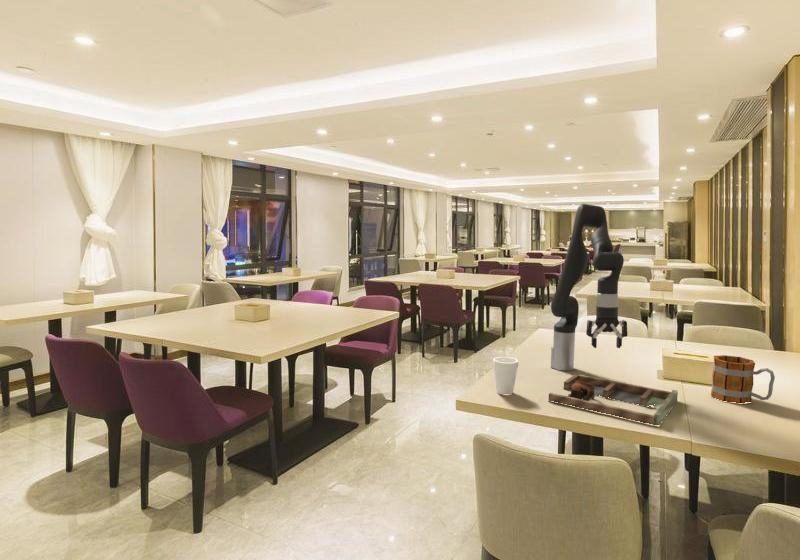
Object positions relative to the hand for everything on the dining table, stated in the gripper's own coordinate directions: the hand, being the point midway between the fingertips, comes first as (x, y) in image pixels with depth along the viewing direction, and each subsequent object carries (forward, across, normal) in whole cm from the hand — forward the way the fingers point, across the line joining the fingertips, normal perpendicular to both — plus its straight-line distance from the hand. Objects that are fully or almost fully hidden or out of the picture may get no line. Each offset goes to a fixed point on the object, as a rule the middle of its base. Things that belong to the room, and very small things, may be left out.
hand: (606, 347), depth 184 cm
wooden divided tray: (+19, -1, +5) cm, 20 cm away
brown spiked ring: (+19, +10, +6) cm, 22 cm away
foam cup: (+18, +38, +1) cm, 42 cm away
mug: (+20, -49, -2) cm, 53 cm away
